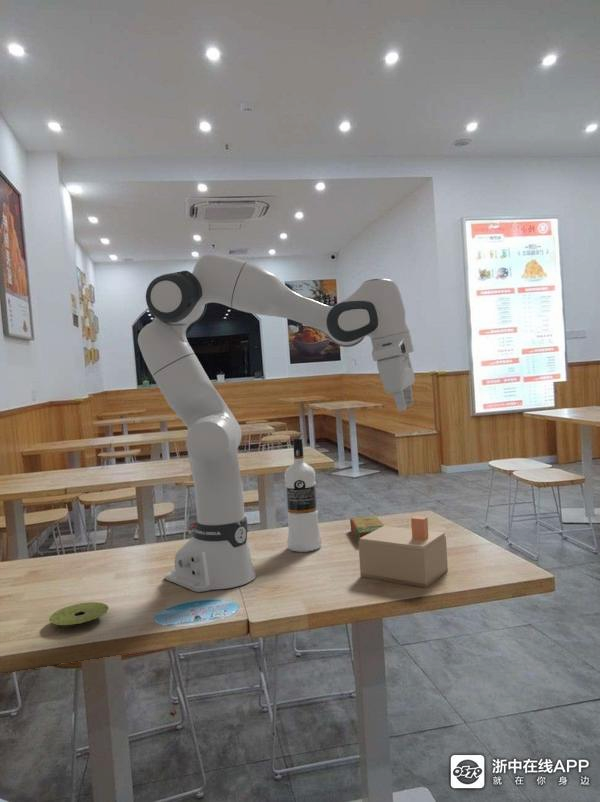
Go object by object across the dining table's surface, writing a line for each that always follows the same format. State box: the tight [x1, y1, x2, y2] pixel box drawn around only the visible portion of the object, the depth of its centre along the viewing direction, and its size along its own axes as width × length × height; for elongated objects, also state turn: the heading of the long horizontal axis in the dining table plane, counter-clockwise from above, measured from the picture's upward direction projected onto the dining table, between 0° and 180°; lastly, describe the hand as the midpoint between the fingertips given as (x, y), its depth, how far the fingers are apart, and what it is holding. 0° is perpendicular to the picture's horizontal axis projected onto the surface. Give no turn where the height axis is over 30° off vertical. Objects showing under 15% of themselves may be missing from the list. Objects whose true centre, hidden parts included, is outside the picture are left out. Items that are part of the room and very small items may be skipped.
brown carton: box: [358, 535, 449, 589], centre depth 134 cm, size 16×12×8 cm
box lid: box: [359, 515, 446, 550], centre depth 133 cm, size 16×12×5 cm
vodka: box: [283, 437, 323, 553], centre depth 158 cm, size 9×9×30 cm
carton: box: [349, 516, 385, 546], centre depth 165 cm, size 8×16×4 cm, turn 4°
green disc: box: [48, 601, 109, 626], centre depth 118 cm, size 11×11×2 cm
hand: (406, 407), depth 134 cm, fingers open, 8 cm apart
